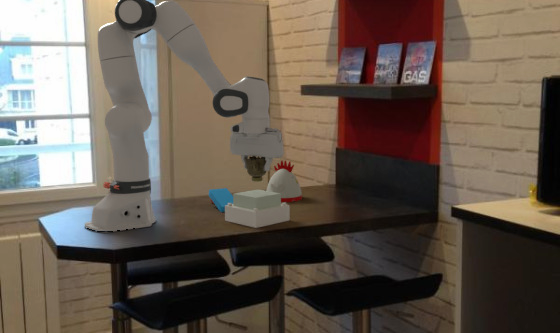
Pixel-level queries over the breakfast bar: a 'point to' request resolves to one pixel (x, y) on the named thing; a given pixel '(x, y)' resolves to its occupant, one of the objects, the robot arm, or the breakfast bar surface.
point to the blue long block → (220, 198)
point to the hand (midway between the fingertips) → (256, 169)
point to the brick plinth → (257, 209)
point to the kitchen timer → (285, 183)
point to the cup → (255, 167)
